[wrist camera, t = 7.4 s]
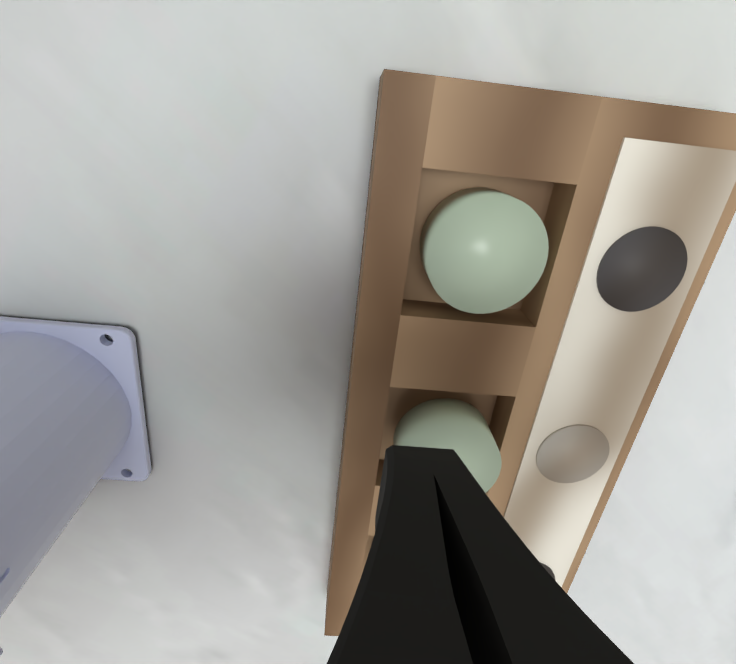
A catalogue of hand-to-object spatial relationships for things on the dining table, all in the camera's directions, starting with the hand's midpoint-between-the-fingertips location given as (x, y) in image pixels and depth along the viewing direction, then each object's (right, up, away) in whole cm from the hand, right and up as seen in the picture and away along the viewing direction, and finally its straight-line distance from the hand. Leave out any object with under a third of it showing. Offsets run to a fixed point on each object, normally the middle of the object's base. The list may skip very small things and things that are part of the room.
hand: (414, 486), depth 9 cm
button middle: (+2, -1, +10) cm, 10 cm away
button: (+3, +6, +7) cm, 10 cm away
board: (+4, -1, +12) cm, 13 cm away
